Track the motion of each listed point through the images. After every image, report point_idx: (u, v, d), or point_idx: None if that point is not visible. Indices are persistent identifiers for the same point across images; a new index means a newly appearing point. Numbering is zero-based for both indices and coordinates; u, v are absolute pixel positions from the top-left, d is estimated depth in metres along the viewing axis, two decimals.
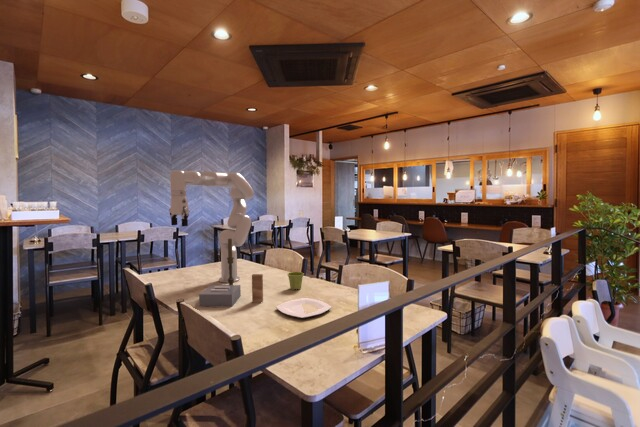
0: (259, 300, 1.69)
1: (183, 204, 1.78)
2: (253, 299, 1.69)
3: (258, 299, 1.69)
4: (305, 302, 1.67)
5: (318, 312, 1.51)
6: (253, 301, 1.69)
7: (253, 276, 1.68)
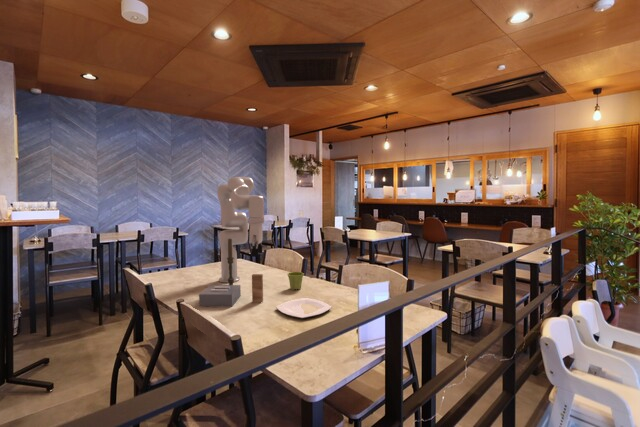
0: (259, 300, 1.69)
1: None
2: (253, 299, 1.69)
3: (258, 300, 1.69)
4: (305, 302, 1.67)
5: (318, 312, 1.51)
6: (253, 301, 1.69)
7: (253, 276, 1.68)
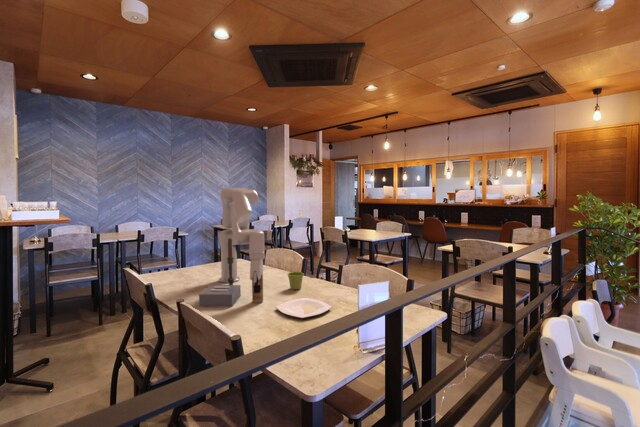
0: (259, 300, 1.69)
1: None
2: (253, 299, 1.69)
3: (259, 300, 1.69)
4: (305, 302, 1.67)
5: (318, 312, 1.51)
6: (253, 301, 1.69)
7: (253, 276, 1.68)
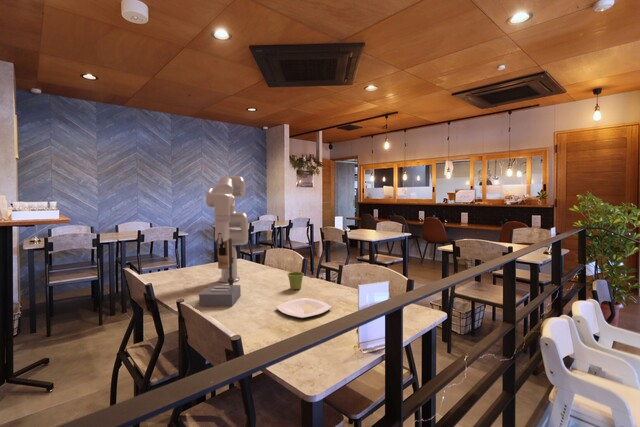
0: (225, 266, 1.69)
1: None
2: (219, 265, 1.69)
3: (224, 265, 1.69)
4: (305, 302, 1.67)
5: (318, 312, 1.51)
6: (219, 267, 1.69)
7: None
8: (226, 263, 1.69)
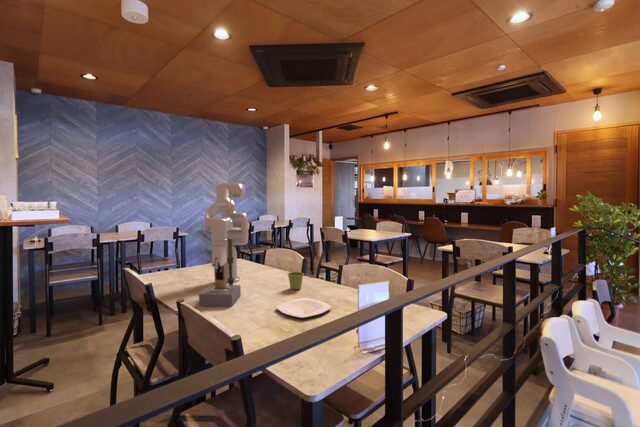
0: None
1: None
2: None
3: None
4: (305, 302, 1.67)
5: (318, 312, 1.51)
6: None
7: None
8: (223, 288, 1.70)
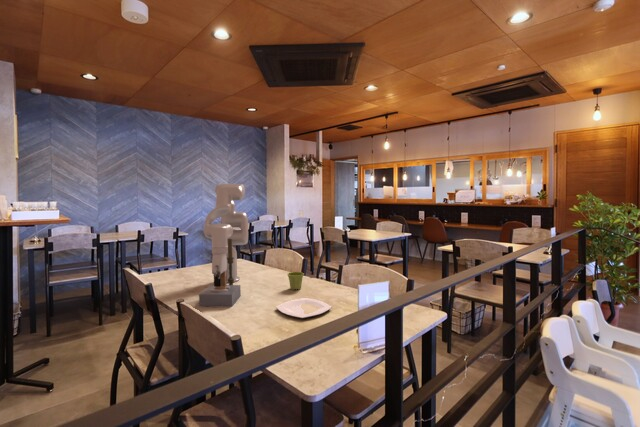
0: None
1: None
2: None
3: None
4: (305, 302, 1.67)
5: (318, 312, 1.51)
6: None
7: None
8: None
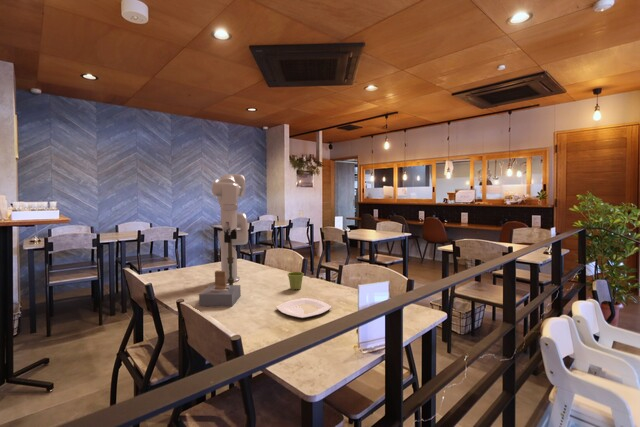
0: None
1: None
2: None
3: None
4: (305, 302, 1.67)
5: (318, 312, 1.51)
6: None
7: (216, 272, 1.69)
8: None
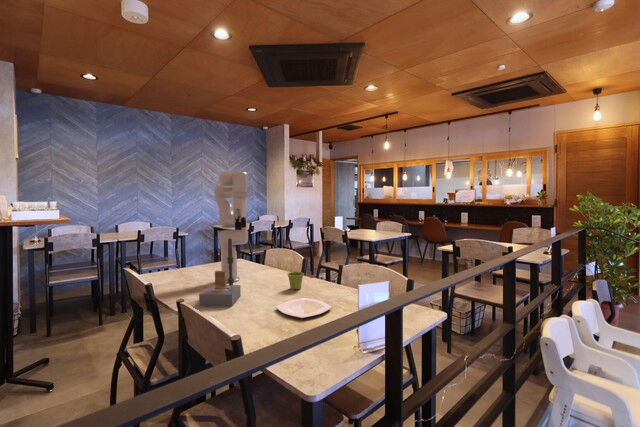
0: None
1: None
2: None
3: None
4: (305, 302, 1.67)
5: (318, 312, 1.51)
6: None
7: (216, 272, 1.69)
8: None
